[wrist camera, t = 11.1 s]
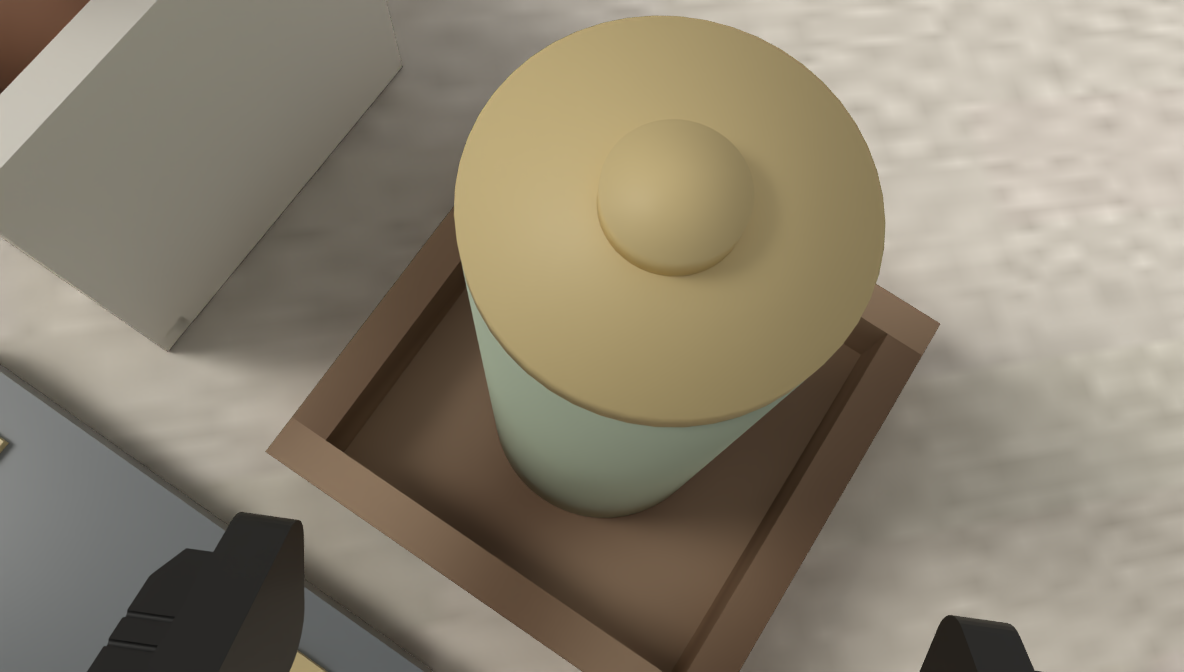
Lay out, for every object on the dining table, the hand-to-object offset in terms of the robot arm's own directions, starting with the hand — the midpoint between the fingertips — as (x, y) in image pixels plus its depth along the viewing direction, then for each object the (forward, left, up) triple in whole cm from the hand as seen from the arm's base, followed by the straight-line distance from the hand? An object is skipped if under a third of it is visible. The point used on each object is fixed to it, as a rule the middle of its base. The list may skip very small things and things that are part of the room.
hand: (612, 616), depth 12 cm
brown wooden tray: (-2, +4, -9) cm, 10 cm away
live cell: (-2, +4, -8) cm, 9 cm away
